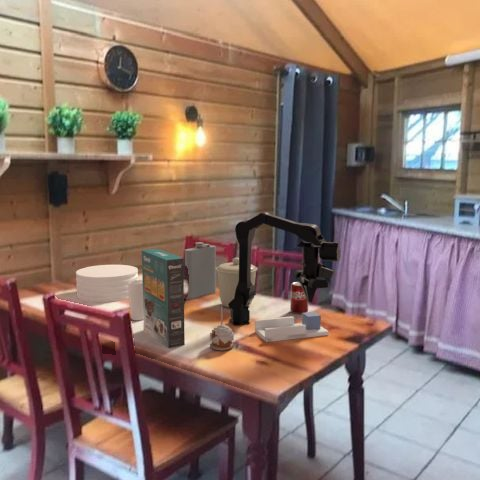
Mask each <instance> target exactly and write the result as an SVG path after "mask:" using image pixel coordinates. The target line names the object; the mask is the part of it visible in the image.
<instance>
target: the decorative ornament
mask: <svg viewBox="0 0 480 480" xmlns="http://www.w3.org/2000/svg"><path fill="white" fill-rule="evenodd" d="M223 307H224V305H223V304H222V303H220V323H219V324H217V325H215V326H214V327H213V329H211V332H210V333H209V339H210V340H209V341H211V342H210V343H209V345H210V348H211V349H213V350H215V351H217V350H218V351H227V350H230V349H232V348H234V346H235V345H234V342H233V341H234V336H235V335H234V331H233V329H232V328H231V327H229V325H226V324H225V323H223V320H224V319H223V317H224V315H223V311H224V310H223V309H224V308H223Z"/></svg>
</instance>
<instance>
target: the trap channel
mask: <svg viewBox="0 0 480 480" xmlns="http://www.w3.org/2000/svg"><path fill="white" fill-rule="evenodd" d="M254 332H255V334H257V335H258V336H259V337H260V338H261V339H262V340H263V341H264V342H265V343H270V342H271V343H272V342H277V341H278V342H279V341H287V340H297V339H304V338H314V337H315V338H316V337H324V336H329V330H328V329H326V328H324V327H323V326H322V325H320V329H313V330H307V329H306V325H305V324H304V325H302V322H300V323H295V317H294V316H283V317H270V318H262V319H261V318H260V319H255V320H254Z"/></svg>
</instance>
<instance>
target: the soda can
mask: <svg viewBox="0 0 480 480" xmlns="http://www.w3.org/2000/svg"><path fill="white" fill-rule="evenodd" d="M290 312H291V313H293V314H296V315H302V313H306V312H309V302H308V300H307V298H306V296H305V293H304V291H303V289H302V287H301V285H300V283H299V281H294V282H292V283H291V284H290Z"/></svg>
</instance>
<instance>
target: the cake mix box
mask: <svg viewBox="0 0 480 480" xmlns="http://www.w3.org/2000/svg"><path fill="white" fill-rule="evenodd" d="M141 269H142V271H141V274H142V275H141V276H142V279H141V280H143V318H144V319H143V331H144V332H146V333H147V334H148V335H149V336H151V337H153V339H155V340H156V341H158V342H159V343H161V344H162V345H163V346H165V347H166V348H167V349H171V348H172V349H173V348H176V347H180V346H185V339H186V338H185V275H184V274H185V273H184V272H185V259H184V257H181V256H178V255H175V254H172V253H171V252H170V253H169V252H168V251H164V250H163V249H160V248H152V249H141Z"/></svg>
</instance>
